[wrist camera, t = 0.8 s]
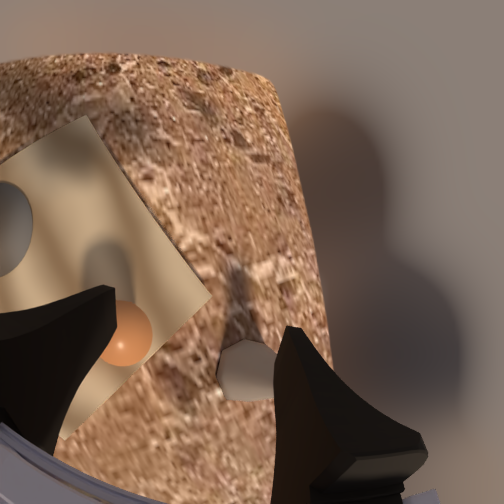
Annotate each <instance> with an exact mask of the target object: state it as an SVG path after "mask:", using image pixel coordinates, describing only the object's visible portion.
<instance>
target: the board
mask: <svg viewBox="0 0 504 504" xmlns="http://www.w3.org/2000/svg"><path fill="white" fill-rule="evenodd" d="M103 284H104V285H107V286H110V287H114V288H115V295H116V300H122V301H128V302H132V303H135V304H136V306H138V307H139V308H140V309H141V310H142V311H143V312H144V313H145V314H146V315H147V317H148V319H149V321H150V323H151V327H152V333H153V337H152V344H151V347H150V349H149V351H148V353H147V354H146V356H145V357H144V358H143V359H142V360H140V361H139V362H137V363H136V364H133V365H130V366H115V365H112V364H108V362H105V361H104V360H103V359H102V358H101V357H99V358H98V360H97V361H96V363H95V364H94V365H93V367H92V368H91V370H90V371H89V372H88V374H87V375H86V377H85V378H84V380H83V381H82V383H81V385H80V386H79V388H78V390H77V392H76V394H75V396H74V398H73V400H72V402H71V405H70V407H69V409H68V412H67V414H66V416H65V419H64V421H63V424H62V427H61V430H60V433H59V436H60V437H61V438H62V439H63V440H66V439H67V438H68V437H69V436H70V435H71V434H72V433H73V432H74V431H75V430H76V429H77V428H78V427H79V426H80V425H81V424H82V423H84V422H85V421H86V420H87V419H88V418H89V417H90V416H91V415H92V414H93V413H94V412H95V411H96V410H97V409H98V408H99V407H100V406H101V405H102V404H103V403H104V402H105V401H106V400H107V399H108V398H109V397H110V396H111V395H112V394H113V393H114V392H115V391H116V390H117V389H118V388H119V387H120V386H121V385H122V384H124V383H125V382H126V381H127V380H128V379H129V378H130V377H131V376H132V375H133V374H134V373H135V372H136V371H137V370H138V369H139V368H140V367H141V366H142V365H143V364H144V363H145V362H146V361H147V360H148V359H149V358H150V357H151V356H152V355H153V354H154V353H155V352H156V351H157V350H158V349H159V348H160V347H161V346H162V345H163V344H164V343H165V342H166V341H167V340H168V339H169V338H170V337H171V336H172V335H173V334H175V333H176V332H177V331H178V330H179V329H180V328H181V327H182V326H183V325H184V324H185V323H186V322H187V321H188V320H189V319H190V318H191V317H192V316H193V315H194V314H195V313H196V312H197V311H198V310H199V309H200V308H201V307H202V306H203V305H204V304H205V303H206V302H207V301H208V300H209V299H210V298H211V297H212V295H211V294H210V293H209V292H208V290H207V289H206V288H205V287H204V285H203V284H202V283H201V281H200V280H199V279H198V278H197V276H196V275H195V274H194V272H193V271H192V270H191V268H190V267H189V266H188V264H187V263H186V262H185V260H184V259H183V258H182V256H181V255H180V254H179V252H178V251H177V250H176V248H175V247H174V246H173V244H172V243H171V242H170V240H169V239H168V237H167V236H166V235H165V233H164V232H163V231H162V229H161V228H160V226H159V225H158V224H157V222H156V221H155V219H154V218H153V217H152V215H151V214H150V212H149V211H148V209H147V208H146V207H145V205H144V204H143V202H142V201H141V199H140V198H139V196H138V195H137V193H136V192H135V191H134V189H133V188H132V186H131V185H130V183H129V182H128V180H127V179H126V177H125V176H124V174H123V173H122V171H121V170H120V168H119V166H118V165H117V163H116V162H115V160H114V159H113V157H112V156H111V154H110V152H109V151H108V149H107V148H106V146H105V145H104V143H103V141H102V140H101V138H100V136H99V135H98V133H97V132H96V130H95V128H94V127H93V125H92V123H91V122H90V120H89V118H88V117H87V115H85V116H82V117H80V118H78V119H76V120H74V121H72V122H70V123H68V124H66V125H64V126H63V127H61V128H59V129H57V130H55V131H53V132H51V133H50V134H48V135H46V136H44V137H43V138H41V139H39V140H38V141H36V142H34V143H33V144H31V145H29V146H28V147H26V148H25V149H23V150H21V151H20V152H18V153H17V154H15V155H14V156H12V157H11V158H9V159H8V160H6V161H5V162H4V163H2V164H1V165H0V313H6V312H13V311H20V310H26V309H30V308H34V307H38V306H42V305H45V304H48V303H51V302H54V301H57V300H60V299H63V298H66V297H69V296H71V295H74V294H77V293H79V292H82V291H85V290H87V289H90V288H93V287H96V286H99V285H103Z"/></svg>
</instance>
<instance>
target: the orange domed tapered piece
mask: <svg viewBox="0 0 504 504" xmlns="http://www.w3.org/2000/svg"><path fill="white" fill-rule="evenodd" d="M116 314H117V329H116V331H115V333H114V335H113V337H112V339H111V340H110V342H109V344H108V346H107V347H106V349H105V350H104V351H103V353H102V354H101V356H100V357H101V358H102V359H103V360H104V361H105V362H108V364H112V365H115V366H130V365H133V364H136V363H137V362H139V361H140V360H142V359H143V358H144V357H145V356H146V354H147V353H148V351H149V349H150V347H151V344H152V337H153V333H152V327H151V323H150V321H149V319H148V317H147V315H146V314H145V313H144V312H143V311H142V310H141V309H140V308H139V307H138V306H136V304H135V303H132V302H128V301H122V300H116Z"/></svg>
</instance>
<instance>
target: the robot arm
mask: <svg viewBox="0 0 504 504" xmlns="http://www.w3.org/2000/svg"><path fill="white" fill-rule="evenodd" d="M116 329H117V314H116V295H115V288H114V287H110V286H107V285H104V284H103V285H99V286H96V287H93V288H90V289H87V290H85V291H82V292H79V293H77V294H74V295H71V296H69V297H66V298H63V299H60V300H57V301H54V302H51V303H48V304H45V305H42V306H38V307H34V308H30V309H26V310H20V311H13V312H6V313H0V504H167V503H164V502H160V501H156V500H153V499H150V498H146V497H143V496H140V495H137V494H134V493H131V492H128V491H126V490H123V489H120V488H118V487H115V486H113V485H110V484H108V483H105V482H103V481H101V480H98V479H96V478H94V477H92V476H89V475H87V474H85V473H83V472H81V471H79V470H77V469H75V468H73V467H71V466H69V465H67V464H65V463H64V462H62V461H60V460H58V459H56V458H55V457H53V454H54V450H55V446H56V443H57V439H58V436H59V433H60V430H61V427H62V424H63V421H64V419H65V416H66V414H67V412H68V409H69V407H70V405H71V402H72V400H73V398H74V396H75V394H76V392H77V390H78V388H79V386H80V385H81V383H82V381H83V380H84V378H85V377H86V375H87V374H88V372H89V371H90V370H91V368H92V367H93V365H94V364H95V363H96V361H97V360H98V358H99V357H100V356H101V354H102V353H103V351H104V350H105V349H106V347H107V346H108V344H109V342H110V340H111V339H112V337H113V335H114V333H115V331H116ZM273 391H274V405H275V418H276V454H275V468H274V479H273V488H272V496H271V503H270V504H440V501H439V498H438V496H437V492H436V489H432V490H429V491H426V492H422V493H419V494H415V495H412V496H409V497H407V498H405V499H403V500H402V498H401V495H400V493H402V492H403V491H404V490H405V488H404V484H403V481H405V480H406V479H407V478H408V477H410V476H411V475H412V474H413V473H415V472H416V471H417V470H418V469H419V468H420V467H421V466H422V465H423V464H424V463H425V461H426V459H427V458H428V451H427V449H426V446H425V444H424V441H423V439H422V437H421V435H420V433H419V432H416V431H415V430H412V429H410V428H408V427H406V426H404V425H402V424H400V423H398V422H396V421H394V420H392V419H391V418H389V417H388V416H386V415H384V414H383V413H381V412H379V411H378V410H377V409H375V408H374V407H372V406H371V405H369V404H368V403H367V402H366V401H364V400H363V399H362V398H360V397H359V396H358V395H357V394H356V393H355V392H354V391H353V390H351V389H350V388H349V387H348V386H347V385H346V384H345V383H344V382H343V381H342V380H341V379H340V378H339V377H338V376H337V375H336V373H335V372H334V371H333V370H332V369H331V368H330V367H329V365H328V364H327V363H326V362H325V360H324V359H323V358H322V356H321V355H320V354H319V352H318V351H317V350H316V348H315V347H314V346H313V344H312V343H311V341H310V340H309V338H308V337H307V336H306V334H305V333H304V331H303V330H302V328H298V327H292V326H286V328H285V332H284V335H283V338H282V341H281V344H280V347H279V350H278V353H277V356H276V359H275V362H274V375H273Z"/></svg>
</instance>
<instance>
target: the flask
mask: <svg viewBox="0 0 504 504" xmlns="http://www.w3.org/2000/svg"><path fill="white" fill-rule="evenodd" d="M276 356H277V354H276V353H275V352H274V351H273V350H272V349H271V348H269V347H268V346H267V345H266V344H263V343H259V342H255V341H250V340H246V339H243V340H241V341H239V342H238V343H236V344H234V345H232V346H230V347H228V348H226V349H224V350H222V354H221V358H220V363H219V367H218V372H217V376H216V378H217V380H218V382H219V385H220V387H221V389H222V391H223V394H224V396H225V398H226V400H235V401H246V402H251V401H258V400H264V399H272V398H274V391H273V375H274V362H275V359H276Z"/></svg>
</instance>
